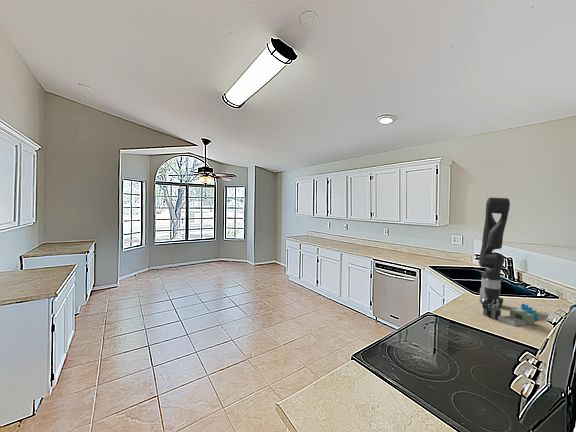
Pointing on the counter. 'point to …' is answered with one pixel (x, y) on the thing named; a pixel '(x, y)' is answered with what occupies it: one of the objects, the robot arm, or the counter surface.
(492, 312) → the grey lidded bin
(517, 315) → the drawer with ball knob
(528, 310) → the gear
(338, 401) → the counter surface
